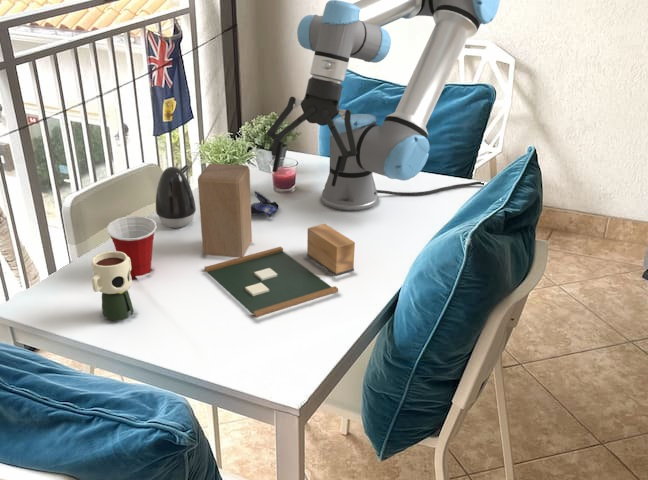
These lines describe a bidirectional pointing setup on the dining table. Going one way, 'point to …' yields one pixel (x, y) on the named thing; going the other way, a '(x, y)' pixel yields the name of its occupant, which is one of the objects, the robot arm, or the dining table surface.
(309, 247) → the eraser
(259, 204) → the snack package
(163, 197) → the black egg-shaped piece
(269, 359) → the dining table surface
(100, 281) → the character mug
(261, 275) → the chalk flake
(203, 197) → the block
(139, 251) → the plastic cup
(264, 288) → the chalk flake
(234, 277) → the chalkboard
